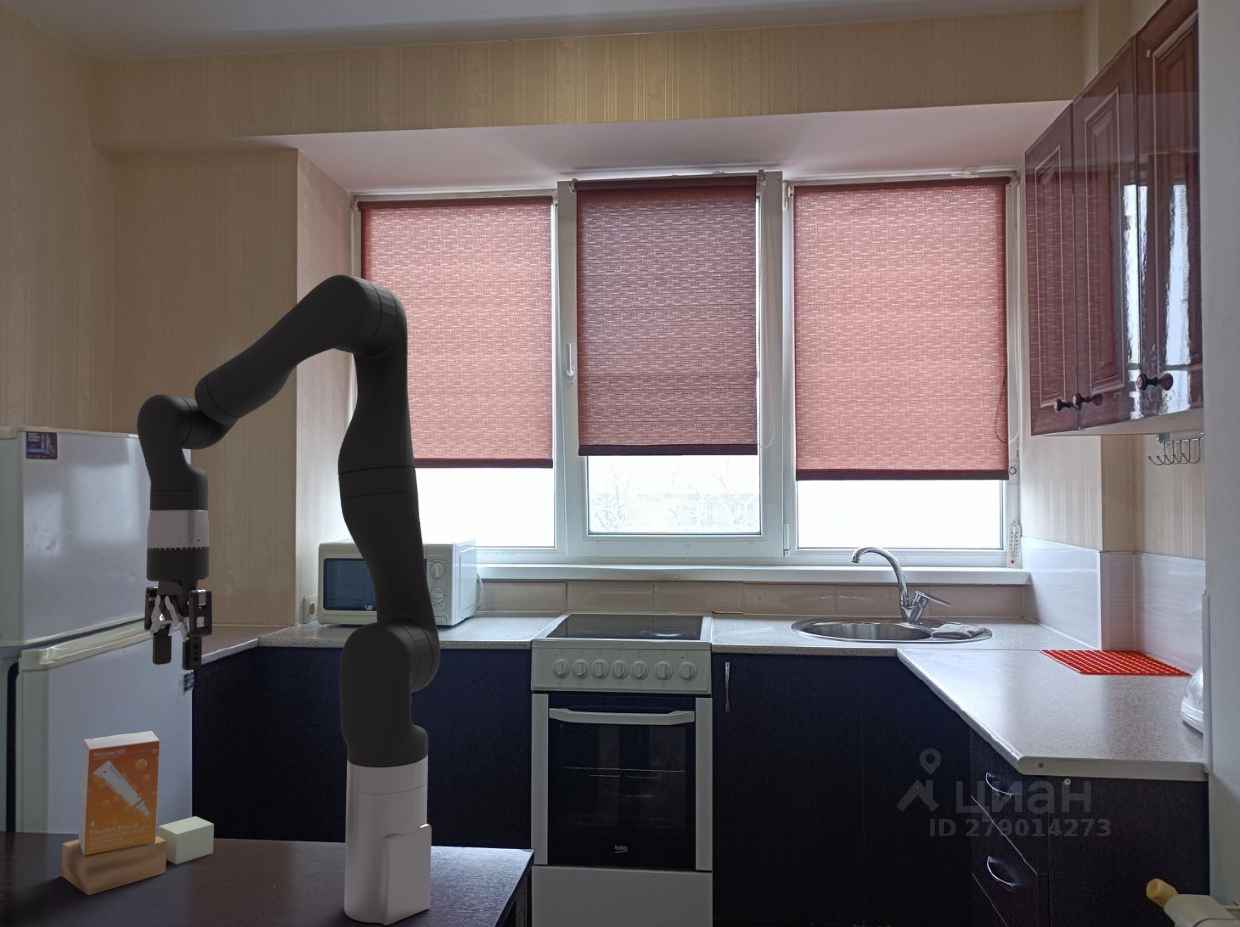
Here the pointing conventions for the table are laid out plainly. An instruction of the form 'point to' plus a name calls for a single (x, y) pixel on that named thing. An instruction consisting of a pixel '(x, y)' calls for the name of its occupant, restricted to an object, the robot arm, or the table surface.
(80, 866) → the base brick
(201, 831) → the brick
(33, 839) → the table surface
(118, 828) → the small box
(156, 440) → the robot arm
